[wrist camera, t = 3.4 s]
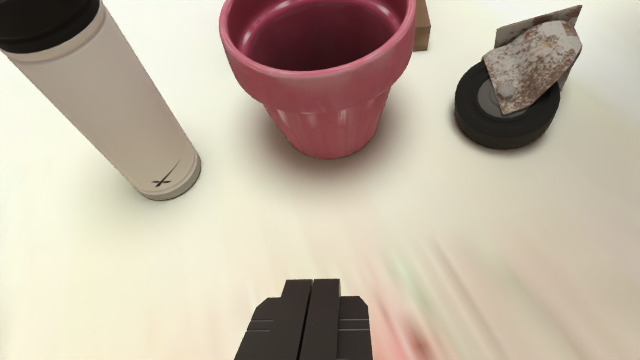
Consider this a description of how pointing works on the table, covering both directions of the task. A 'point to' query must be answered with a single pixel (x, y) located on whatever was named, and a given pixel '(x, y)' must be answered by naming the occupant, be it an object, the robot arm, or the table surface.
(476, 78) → the caster wheel
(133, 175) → the travel mug
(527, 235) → the table surface
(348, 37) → the plant pot
